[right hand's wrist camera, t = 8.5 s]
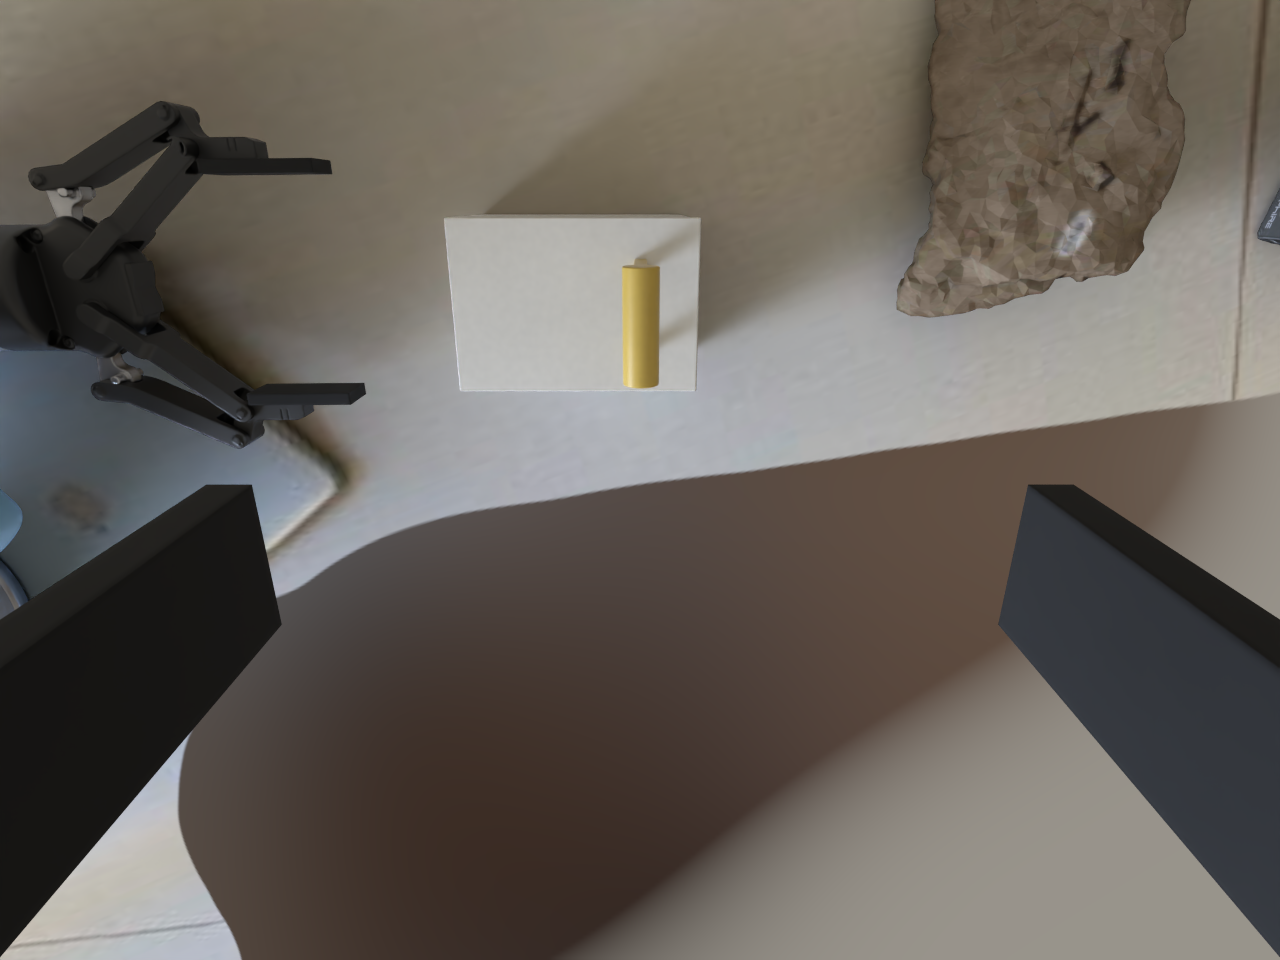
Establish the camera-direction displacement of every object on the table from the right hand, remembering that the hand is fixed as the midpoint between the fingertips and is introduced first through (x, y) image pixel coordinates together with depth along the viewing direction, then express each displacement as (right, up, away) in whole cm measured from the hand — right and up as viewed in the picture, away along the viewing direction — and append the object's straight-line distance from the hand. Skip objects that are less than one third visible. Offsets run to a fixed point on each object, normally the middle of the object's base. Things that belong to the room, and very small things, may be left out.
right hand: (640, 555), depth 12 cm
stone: (+24, +23, +35) cm, 48 cm away
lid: (-4, +11, +29) cm, 32 cm away
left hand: (-18, +13, +32) cm, 39 cm away
